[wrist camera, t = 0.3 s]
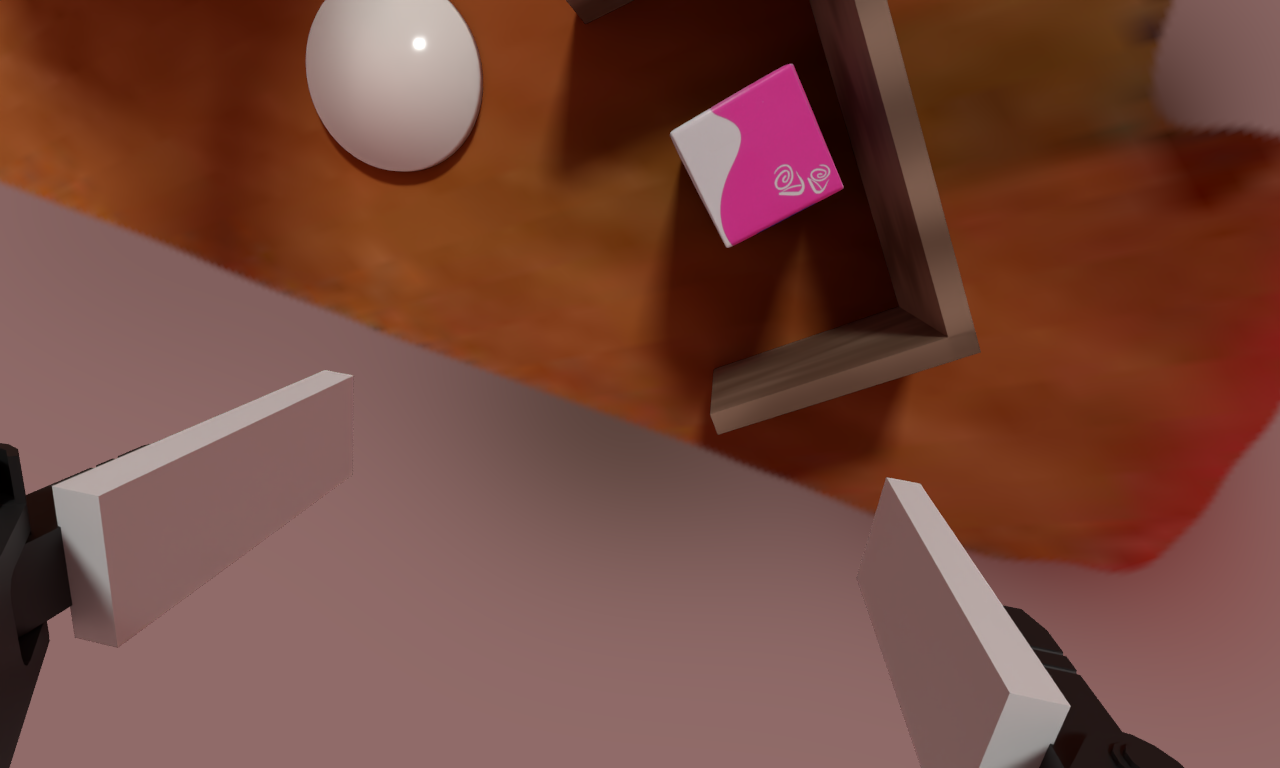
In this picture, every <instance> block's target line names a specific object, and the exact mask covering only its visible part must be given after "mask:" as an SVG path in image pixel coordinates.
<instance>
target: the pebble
mask: <svg viewBox="0 0 1280 768" xmlns="http://www.w3.org/2000/svg"><path fill="white" fill-rule="evenodd" d="M306 74H307V81H308V86H309V91H310V94H311V97H312V101H313V103H314V106H315V108H316V111H317V113H318V115H319V117H320V118H321V120H322V122H323V124H324V125H325V127H326V128H327V130H328V131H329V133H330V134H331V135H332V136H333V138H334V139H335V140H336V141H337V142H338V143H339V144H340V145H341V146H342V147H343V148H344V149H345V150H346V151H348V152H349V153H350V154H352V155H353V156H354V157H356V158H357V159H359V160H361V161H363V162H365V163H367V164H369V165H372V166H374V167H377V168H381V169H385V170H390V171H402V172H410V171H419V170H424V169H428V168H430V167H433V166H436V165H438V164H439V163H441V162H443V161H445V160H446V159H448V158H449V157H450V156H451V155H453V154H454V153H455V152H456V151H457V150H458V149H459V148H460V147H461V146H462V145H463V143H464V142H465V140H466V139H467V138H468V136H469V134H470V133H471V131H472V129H473V127H474V125H475V122H476V120H477V117H478V114H479V110H480V106H481V102H482V94H483V72H482V63H481V59H480V54H479V50H478V47H477V44H476V42H475V39H474V36H473V34H472V32H471V30H470V28H469V26H468V25H467V23H466V21H465V20H464V18H463V17H462V15H461V14H460V13H459V11H458V10H457V9H456V8H455V6H454V5H453V4H452V3H451V2H450V1H449V0H325V1H324V3H323V4H322V6H321V7H320V9H319V11H318V12H317V14H316V16H315V19H314V21H313V23H312V26H311V29H310V33H309V37H308V42H307V48H306Z"/></svg>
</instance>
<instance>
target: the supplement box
mask: <svg viewBox="0 0 1280 768" xmlns="http://www.w3.org/2000/svg"><path fill="white" fill-rule="evenodd" d="M670 136H671V139H672V141H673V143H674V145H675V148H676V150H677V152H678V154H679V156H680V158H681V160H682V162H683V164H684V166H685V168H686V170H687V172H688V174H689V176H690V178H691V180H692V182H693V184H694V186H695V188H696V190H697V192H698V194H699V196H700V198H701V200H702V202H703V204H704V206H705V207H706V209H707V211H708V213H709V215H710V217H711V219H712V221H713V223H714V225H715V227H716V229H717V231H718V233H719V235H720V237H721V239H722V241H723V243H724V245H725V246H726V248H729V247H732V246H734V245H736V244H738V243H740V242H742V241H744V240H746V239H748V238H750V237H752V236H754V235H756V234H758V233H760V232H762V231H763V230H765V229H767V228H769V227H771V226H773V225H775V224H777V223H779V222H781V221H783V220H785V219H787V218H789V217H790V216H792V215H794V214H796V213H798V212H800V211H802V210H804V209H806V208H808V207H810V206H812V205H814V204H815V203H817V202H819V201H821V200H823V199H825V198H827V197H829V196H831V195H833V194H835V193H836V192H838V191H840V190H842V189H843V188H844V186H843V184H842V182H841V179H840V177H839V174H838V172H837V170H836V167H835V165H834V162H833V160H832V157H831V155H830V153H829V150H828V148H827V145H826V143H825V140H824V138H823V135H822V133H821V131H820V128H819V126H818V124H817V121H816V118H815V116H814V113H813V111H812V109H811V106H810V104H809V101H808V99H807V96H806V94H805V92H804V89H803V87H802V84H801V82H800V80H799V77H798V75H797V73H796V70H795V68H794V65H793V64H787V65H785V66H783V67H781V68H779V69H777V70H775V71H773V72H772V73H770V74H768V75H766V76H764V77H763V78H761V79H759V80H757V81H756V82H754V83H752V84H750V85H749V86H747V87H745V88H743V89H742V90H740V91H738V92H737V93H735V94H733V95H732V96H730V97H728V98H726V99H725V100H723V101H721V102H720V103H718V104H716V105H715V106H713V107H711V108H710V109H708V110H706V111H705V112H703V113H701V114H700V115H698V116H696V117H694V118H693V119H691V120H689V121H688V122H686V123H684V124H683V125H681V126H679V127H678V128H676V129H674V130H673V131H671V133H670Z"/></svg>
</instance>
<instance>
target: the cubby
mask: <svg viewBox="0 0 1280 768" xmlns="http://www.w3.org/2000/svg"><path fill="white" fill-rule="evenodd" d="M566 1H567V2H568V3H569V5H570V6H571V7H572V8H573V10H574V11H575V12H576V13H577V14H578V16H579V17H580V18H581V19H582V21H583V22H584V23H585V24H587V23H589V22H591V21H593V20H595V19H597V18H599V17H601V16H603V15H605V14H607V13H609V12H611V11H613V10H615V9H617V8H619V7H621V6H623V5H625V4H627V3H629V2H631V1H633V0H566ZM809 2H810V5H811V8H812V12H813V15H814V19H815V22H816V25H817V29H818V32H819V36H820V39H821V42H822V46H823V49H824V53H825V56H826V60H827V63H828V66H829V70H830V73H831V77H832V80H833V83H834V87H835V90H836V94H837V97H838V100H839V104H840V107H841V111H842V114H843V117H844V121H845V124H846V128H847V131H848V135H849V138H850V141H851V145H852V148H853V152H854V155H855V158H856V162H857V165H858V169H859V172H860V175H861V179H862V182H863V186H864V189H865V192H866V196H867V199H868V203H869V206H870V210H871V213H872V216H873V220H874V223H875V227H876V230H877V233H878V237H879V240H880V244H881V247H882V250H883V254H884V257H885V261H886V264H887V268H888V271H889V274H890V278H891V281H892V285H893V288H894V291H895V295H896V298H897V302H898V305H899V307H896V308H893V309H890V310H887V311H884V312H881V313H878V314H875V315H872V316H869V317H866V318H863V319H861V320H858V321H855V322H852V323H849V324H846V325H843V326H840V327H837V328H834V329H831V330H828V331H825V332H822V333H819V334H816V335H813V336H811V337H808V338H805V339H802V340H799V341H796V342H793V343H790V344H787V345H784V346H781V347H778V348H775V349H772V350H769V351H766V352H763V353H760V354H758V355H755V356H752V357H749V358H746V359H743V360H740V361H737V362H734V363H731V364H728V365H725V366H722V367H719V368H716V369H714V372H713V384H712V397H711V409H710V415H711V418H712V421H713V423H714V426H715V429H716V431H717V434H718V435H719V434H722V433H725V432H729V431H732V430H735V429H738V428H741V427H744V426H748V425H751V424H754V423H757V422H760V421H764V420H767V419H770V418H773V417H776V416H779V415H783V414H786V413H789V412H792V411H795V410H799V409H802V408H805V407H808V406H811V405H814V404H818V403H821V402H824V401H827V400H830V399H833V398H837V397H840V396H843V395H846V394H849V393H853V392H856V391H859V390H862V389H865V388H868V387H872V386H875V385H878V384H881V383H884V382H888V381H891V380H894V379H897V378H900V377H903V376H907V375H910V374H913V373H916V372H919V371H923V370H926V369H929V368H932V367H935V366H938V365H942V364H945V363H948V362H951V361H954V360H958V359H961V358H964V357H967V356H970V355H973V354H977V353H980V352H981V351H980V347H979V344H978V340H977V336H976V332H975V329H974V325H973V321H972V317H971V314H970V310H969V306H968V303H967V299H966V295H965V291H964V288H963V284H962V280H961V276H960V273H959V269H958V265H957V261H956V258H955V254H954V250H953V246H952V243H951V239H950V235H949V231H948V228H947V224H946V220H945V216H944V213H943V209H942V205H941V201H940V198H939V194H938V190H937V186H936V183H935V179H934V175H933V171H932V168H931V164H930V160H929V157H928V153H927V149H926V145H925V142H924V138H923V134H922V130H921V127H920V123H919V119H918V115H917V112H916V108H915V104H914V100H913V97H912V93H911V89H910V85H909V82H908V78H907V74H906V70H905V67H904V63H903V59H902V55H901V52H900V48H899V44H898V40H897V37H896V33H895V29H894V25H893V22H892V18H891V14H890V11H889V7H888V3H887V0H809Z"/></svg>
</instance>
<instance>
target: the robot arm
mask: <svg viewBox="0 0 1280 768" xmlns="http://www.w3.org/2000/svg"><path fill="white" fill-rule="evenodd" d="M353 381H354V376H353V375H348V374H343V373H338V372H333V371H327V370H324V371H322V372H319V373H317V374H315V375H312V376H310V377H307V378H305V379H303V380H301V381H298V382H296V383H293V384H291V385H289V386H287V387H284V388H282V389H279V390H277V391H274V392H272V393H270V394H267V395H265V396H263V397H260V398H258V399H256V400H253V401H251V402H249V403H246V404H244V405H242V406H240V407H237V408H235V409H232V410H230V411H227V412H225V413H223V414H220V415H218V416H216V417H213V418H211V419H209V420H206V421H204V422H202V423H199V424H197V425H195V426H192V427H190V428H187V429H185V430H183V431H181V432H178V433H176V434H174V435H171V436H169V437H167V438H164V439H162V440H159V441H157V442H155V443H152V444H148V445H144V446H141V447H139V448H137V449H134V450H132V451H129V452H127V453H125V454H123V455H120V456H118V458H117V459H111V460H108V461H106V462H104V463H101V464H99V465H97V466H96V468H89V469H87V470H84V471H82V472H80V473H77V474H75V475H73V476H70V477H68V478H66V479H64V480H61V481H59V482H56V483H54V484H51V485H49V486H47V487H44V488H42V489H40V490H37V491H35V492H33V493H30V494H28V495H26V494H25V489H24V482H23V476H22V471H21V464H20V459H19V453H18V449H16V448H15V447H13V446H11V445H9V444H2V443H0V768H9V767H10V764H11V761H12V758H13V754H14V751H15V748H16V745H17V742H18V739H19V736H20V732H21V729H22V726H23V723H24V720H25V717H26V713H27V710H28V707H29V704H30V701H31V697H32V694H33V691H34V688H35V685H36V682H37V679H38V676H39V672H40V669H41V666H42V663H43V660H44V657H45V653H46V650H47V647H48V644H49V632H48V626H47V620H49V619H51V618H52V617H54V616H56V615H57V614H59V613H60V612H62V611H64V610H65V609H67V608H68V607H70V608H71V615H72V621H73V628H74V634H75V638H79V639H84V640H88V641H92V642H96V643H100V644H104V645H109V646H113V647H117V648H118V647H119V646H121V645H122V644H123V643H125V642H126V641H128V640H129V639H130V638H132V637H133V636H134V635H136V634H137V633H138V632H140V631H141V630H143V629H144V628H145V627H147V626H148V625H149V624H150V623H152V622H153V621H154V620H156V619H157V618H159V617H160V616H161V615H163V614H164V613H166V612H167V611H168V610H170V609H171V608H172V607H174V606H175V605H176V604H178V603H179V602H180V601H182V600H183V599H184V598H186V597H187V596H189V595H190V594H191V593H193V592H194V591H195V590H197V589H198V588H200V587H201V586H202V585H204V584H205V583H206V582H208V581H209V580H210V579H212V578H213V577H214V576H216V575H217V574H219V573H220V572H221V571H222V570H224V569H225V568H227V567H228V566H229V565H231V564H232V563H233V562H235V561H236V560H238V559H239V558H240V557H241V556H243V555H244V554H246V553H247V552H248V551H250V550H251V549H253V548H254V547H255V546H257V545H258V544H259V543H260V542H262V541H263V540H265V539H266V538H267V537H269V536H270V535H271V534H273V533H274V532H276V531H277V530H278V529H280V528H281V527H282V526H284V525H285V524H286V523H288V522H289V521H290V520H292V519H293V518H295V517H296V516H297V515H299V514H300V513H301V512H303V511H304V510H305V509H307V508H308V507H309V506H311V505H312V504H314V503H315V502H316V501H318V500H319V499H320V498H322V497H323V496H324V495H326V494H327V493H329V492H330V491H331V490H333V489H334V488H335V487H337V486H338V485H339V484H341V483H342V482H343V481H345V480H346V479H348V478H349V477H350V476H351V475H353V393H354V389H353V387H354V382H353ZM857 581H858V584H859V587H860V590H861V593H862V596H863V599H864V602H865V605H866V608H867V611H868V614H869V616H870V620H871V623H872V625H873V628H874V631H875V634H876V637H877V640H878V643H879V646H880V649H881V652H882V654H883V658H884V661H885V663H886V666H887V669H888V672H889V675H890V678H891V681H892V684H893V687H894V690H895V693H896V696H897V699H898V701H899V704H900V707H901V710H902V714H903V716H904V719H905V722H906V725H907V728H908V731H909V734H910V737H911V740H912V743H913V746H914V749H915V752H916V755H917V758H918V760H919V763H920V766H921V768H1184V767H1183V766H1182V765H1181V764H1180V763H1179V762H1178V761H1176V760H1175V759H1173V758H1172V757H1170V756H1168V755H1167V754H1166V753H1164V752H1163V751H1161V750H1160V749H1159V748H1157V747H1155V746H1154V745H1152V744H1150V743H1148V742H1146V741H1143V740H1142V739H1139V738H1137V737H1135V736H1133V735H1131V734H1127V733H1124V732H1122V731H1121V730H1120V728H1119V727H1118V726H1117V724H1116V723H1115V722H1114V720H1113V719H1112V718H1111V716H1110V715H1109V713H1108V712H1107V711H1106V709H1105V708H1104V707H1103V705H1102V704H1101V703H1100V701H1099V700H1098V699H1097V697H1096V696H1095V695H1094V693H1093V692H1092V691H1091V689H1090V688H1089V686H1088V685H1087V684H1086V682H1085V681H1084V680H1083V678H1082V677H1081V676H1080V675H1077V674H1076V669H1075V668H1074V666H1073V665H1072V664H1071V662H1070V661H1069V659H1068V658H1067V657H1066V656H1063V652H1062V650H1061V649H1060V647H1059V646H1058V645H1057V643H1056V642H1055V641H1054V639H1053V638H1052V637H1051V635H1050V634H1049V632H1048V631H1047V630H1046V629H1045V628H1043V627H1042V626H1041V625H1040V624H1039V623H1037V622H1036V621H1035V620H1034V619H1033V618H1031V617H1030V616H1029V615H1028V614H1027V613H1025V612H1024V611H1023V610H1022V609H1017V608H1013V607H1008V606H1003V605H1002V604H1001V603H1000V601H999V600H998V598H997V597H996V595H995V594H994V592H993V591H992V589H991V588H990V586H989V585H988V583H987V582H986V580H985V579H984V577H983V576H982V575H981V573H980V572H979V570H978V569H977V567H976V566H975V564H974V563H973V561H972V560H971V558H970V557H969V555H968V554H967V552H966V551H965V549H964V548H963V546H962V545H961V543H960V542H959V541H958V539H957V538H956V536H955V535H954V533H953V532H952V530H951V529H950V527H949V526H948V524H947V523H946V521H945V520H944V518H943V517H942V515H941V514H940V512H939V511H938V509H937V508H936V507H935V505H934V504H933V502H932V501H931V499H930V498H929V496H928V495H927V493H926V492H925V490H924V489H923V487H922V486H921V484H919V483H914V482H909V481H904V480H898V479H893V478H888V477H886V480H885V484H884V487H883V490H882V494H881V497H880V500H879V504H878V507H877V510H876V514H875V517H874V521H873V524H872V527H871V531H870V534H869V537H868V541H867V544H866V547H865V551H864V554H863V558H862V561H861V564H860V568H859V571H858V574H857Z"/></svg>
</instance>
